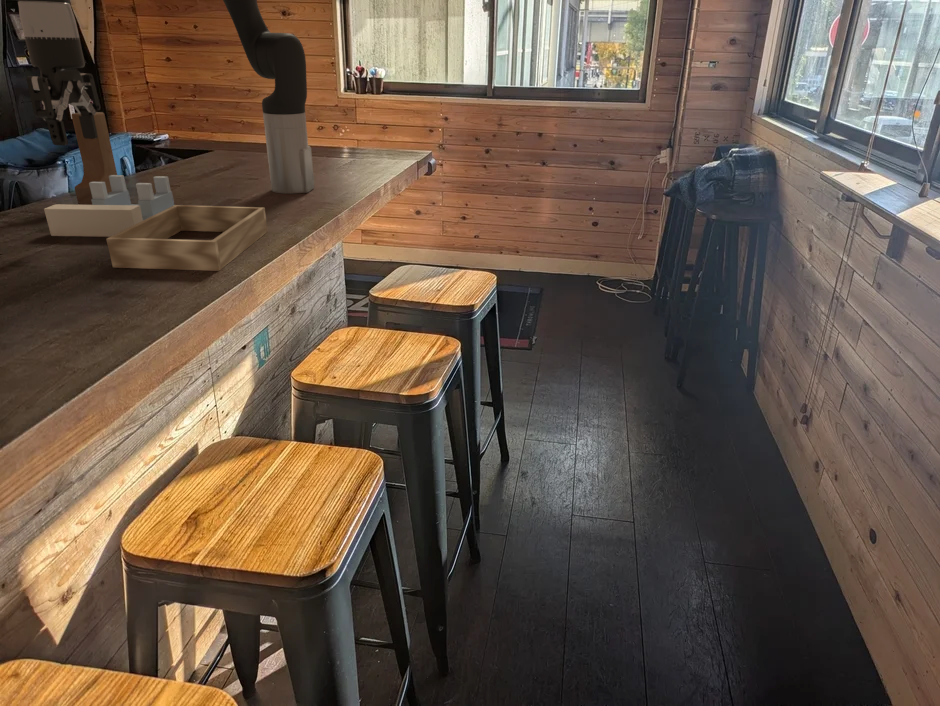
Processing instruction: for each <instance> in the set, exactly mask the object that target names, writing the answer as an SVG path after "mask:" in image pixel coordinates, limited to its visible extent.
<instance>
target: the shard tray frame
mask: <svg viewBox="0 0 940 706" xmlns="http://www.w3.org/2000/svg"><path fill="white" fill-rule="evenodd" d="M181 231H182V232H183V231H185V232H189V231H190V232H212V233H213V232H215V233H217V232H220V233H221V232H222V233H221V234H219V235H217V236H216V237H214V239H208V240H207V239H205V240H204V239H174V238H173V239H172V238H171V237H173V236H175V235H176V234H179V232H181ZM267 233H268V224H267V215H266V208H265V207H264V206H263V207H257V206H256V207H255V206H228V205H227V206H226V205H225V206H221V205H220V206H219V205H188V204H187V205H185V204H184V205H183V204H174V206H172V207H170V208H168V209H166V210H164V211H162V212H160V213H158V214H155V215H153V216H151V217H149V218H147V219H145V220H143V221H141V222H139V223H137V224H135V225H133V226H131V227H129V228H127V229H125V230H123V231H121V232H119V233H117V234H115V235H113V236H111V237H106V239H105V240H106V243H107V247H108V248H107V249H108V252H109V256H110V260H111V261H110V262H111V265H112V266H111V267H112V268H119V269H122V268H123V269H149V270H150V269H151V270H181V271H182V270H183V271H184V270H185V271H211V272H212V271H215V272H219V271H221V270H222V269H224V267H226V266H227V265H229V264H230V263H231V262H232V261H234V259H236V258H238V256H240V255H241V254H242V253H243V252H244V251H246V250H247V249H248V248H250V247H251V246H252V245H253V244H255V243H256V242H257V241H258V240H259V239H260V238H262V237H263V236H264V235H266V234H267Z"/></svg>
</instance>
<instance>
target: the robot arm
mask: <svg viewBox="0 0 940 706" xmlns="http://www.w3.org/2000/svg"><path fill="white" fill-rule="evenodd" d="M16 1H17V5H18V12H19V13H18V14H19V20H20V23H21V27H22V33H23V36H24V40H25V44H26V45H25V46H26V49H27V53H28V55H29V61H30V64H31V66H32V67H33V68H37V69H39V72H40V76H33V75H31V76H30V75H27V77H26V83H27V87H28V92H29V97H30V101H31V105H32V109H33V110H32V111H33V115H34V116H35V118H41V119H43V121H45V122H46V124H47V128H48V132H49V135H50V140H51V143H52V145H54V146H68V144H69V141H68V136H67V132H66V131H67V130H66V128H65V127H66V126H65V124H64V121H63V117H64V116H63V115H64V111H65V110H66V109H67V108H68V106H69V105H71V107H73V108H74V109H75V110H76V113H79V114H80V115H81V116H79V120H80V124H81V128H82V133H83V137H84V138H86V139H95V138H97V137H98V135H97V129H96V126H95V120H94V115H95V114H96V112H98V111H101V109H102V108H101V107H102V106H101V104H100V103H101V102H100V99H99V95H98V92H97V87H96V83H95V82H96V81H95V78H94V76H93V74H92V73H87V72H86V73H84V72H80V70H79V69H83V68H84V67H85V65H86V62H85V57H84V53H83V49H82V48H83V47H82V44H81V39H80V38H81V37H80V34H79V29H78V25H77V21H76V18H75V15H74V12H73V10H72V6H71V1H70V0H16ZM222 1H223V3H224V6H225V7H226V10H227V12H228V14H229V15H230V18H231V20H232V22H233V25H234V27H235V30H236V33H237V35H238V38H239V40H240V43H241V46H242V49H243V50H244V53H245V56H246V58H247V60H248V62H249V65H250V66H251V68H252V70H253V71H254V73H256V74H257V75H258V76H260V77H261V78H263V79H266V80H268V79H269V80H274V89H273V92H272V93H271V94H269V95H268V96H266V97H264V98H263V99H262V100H261V108H262V110H261V111H262V118H263V126H264V134H265V135H264V136H265V143H266V145H265V146H266V153H267V161H268V171H269V177H270V178H269V179H270V186H271V192H274V193H279V194H301V193H304V194H305V193H307V194H308V193H310V192H311V191H312V190H313V189H315V178H314V167H313V165H314V164H313V155H312V154H313V153H312V147H311V146H310V145H309V142H308V140H309V139H308V130H307V129H308V128H307V118H306V117H307V116H306V101H307V97H308V87H307V86H308V82H307V61H306V55H305V54H306V53H305V49H304V46H303V44H302V42H301V40H300V38H298V37H297V36H296V35H295V34H293V33H288V32H285V33H284V32H271V31H270V30H269V29H268V27H267V25H266V23H265V20H264V18H263V16H262V14H261V12H260V9H259V5H258V0H222ZM91 101H92V102H91ZM41 104H42V105H43V109H42V108H41ZM54 109H55V110H54Z"/></svg>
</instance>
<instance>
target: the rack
mask: <svg viewBox="0 0 940 706" xmlns="http://www.w3.org/2000/svg"><path fill="white" fill-rule="evenodd" d="M169 179H170V178H169V176H162V175H161V176H159V175H158V176H156V175H155V176H153V183H154V189H155V193H154V190H153V184H152V182H137V183H136V184H135V187H136V192H137V198H138V200H137V204H136V203H135V204H133V203H132V202H131V197H130V191H129V189H127V185H126V184H127V183H126V180H125V176H124V175H122V174H120V175H119V174H117V175H111V176H109V180H110V184H111V189H112V192H109V193H107V189H106V184H105V182H90V183H89V185H90V189H91V194H92V198H93V199H91V201H92V205H138V206H140V209H141V213H142V218H143V220H145V219H147V218H149V217H151V216H153V215H155V214H158V213H160V212H162V211H164V210H166V209H168V208H170V207H172V206H174V205H175V199H174V195H173V191H172V190H171V185H170V180H169Z"/></svg>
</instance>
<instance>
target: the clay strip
mask: <svg viewBox="0 0 940 706" xmlns="http://www.w3.org/2000/svg"><path fill="white" fill-rule="evenodd" d="M43 210H44V215H45V217H46V222H47V225H48V229H49V233H50V236H52V237H105V238H109V237H111V236H113V235H115V234H117V233H119V232H121V231H123V230H125V229H127V228H129V227H131V226H133V225H135V224H137V223H139V222H141V221H143V218H142V213H141V209H140V206H138V205H78V204H65V203H63V204H57V203H56V204H53V205H50V206H48V207H45V208H43Z"/></svg>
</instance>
